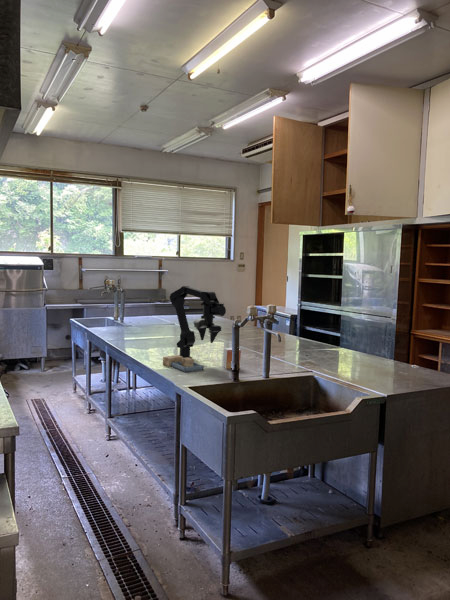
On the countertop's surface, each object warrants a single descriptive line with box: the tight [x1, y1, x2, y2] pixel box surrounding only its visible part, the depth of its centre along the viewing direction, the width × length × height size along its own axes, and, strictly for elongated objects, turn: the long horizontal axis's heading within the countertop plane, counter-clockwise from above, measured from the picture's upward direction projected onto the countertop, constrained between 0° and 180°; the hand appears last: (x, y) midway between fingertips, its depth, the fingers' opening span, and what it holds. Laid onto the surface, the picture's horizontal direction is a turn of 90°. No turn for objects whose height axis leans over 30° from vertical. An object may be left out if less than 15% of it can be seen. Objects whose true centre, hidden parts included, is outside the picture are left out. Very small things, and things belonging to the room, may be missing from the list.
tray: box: [170, 361, 204, 373], centre depth 248 cm, size 14×12×2 cm
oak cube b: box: [171, 354, 183, 362], centre depth 255 cm, size 4×4×4 cm
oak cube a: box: [181, 357, 194, 367], centre depth 248 cm, size 4×4×4 cm
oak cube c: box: [162, 355, 175, 367], centre depth 252 cm, size 4×4×4 cm
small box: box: [222, 347, 242, 370], centre depth 254 cm, size 8×6×10 cm
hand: (206, 341), depth 263 cm, fingers open, 9 cm apart
